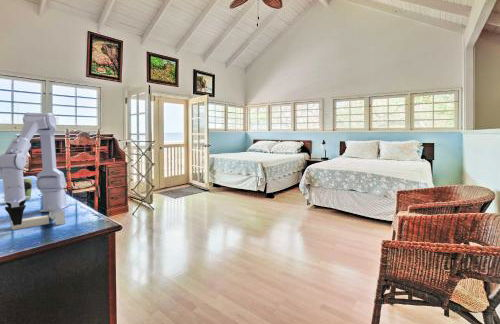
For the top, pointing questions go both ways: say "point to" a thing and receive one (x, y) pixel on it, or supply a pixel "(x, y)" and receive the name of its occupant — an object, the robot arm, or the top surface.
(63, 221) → the housing
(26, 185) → the beverage can
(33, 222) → the rod
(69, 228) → the top surface
